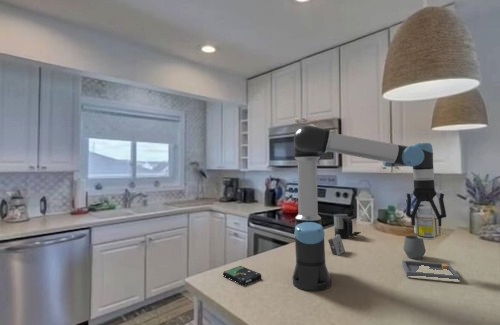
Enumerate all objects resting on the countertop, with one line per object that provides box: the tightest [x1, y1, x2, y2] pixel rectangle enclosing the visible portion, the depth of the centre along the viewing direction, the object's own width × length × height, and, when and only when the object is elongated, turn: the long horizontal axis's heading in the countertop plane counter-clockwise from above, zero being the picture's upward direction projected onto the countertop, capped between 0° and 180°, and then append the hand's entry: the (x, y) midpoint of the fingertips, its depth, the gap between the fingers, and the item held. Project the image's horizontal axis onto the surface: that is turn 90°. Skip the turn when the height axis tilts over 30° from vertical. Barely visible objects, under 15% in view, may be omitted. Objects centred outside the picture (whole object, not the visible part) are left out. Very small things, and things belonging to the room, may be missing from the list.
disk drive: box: [222, 265, 262, 286], centre depth 122 cm, size 10×3×15 cm
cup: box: [403, 235, 426, 260], centre depth 139 cm, size 10×9×10 cm
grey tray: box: [401, 260, 461, 281], centre depth 118 cm, size 18×15×2 cm
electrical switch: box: [327, 235, 346, 256], centre depth 152 cm, size 9×5×9 cm, turn 141°
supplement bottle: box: [415, 206, 437, 241], centre depth 119 cm, size 7×7×13 cm
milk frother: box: [333, 213, 362, 240], centre depth 185 cm, size 14×16×15 cm
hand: (426, 233), depth 118 cm, fingers closed on supplement bottle, 7 cm apart
